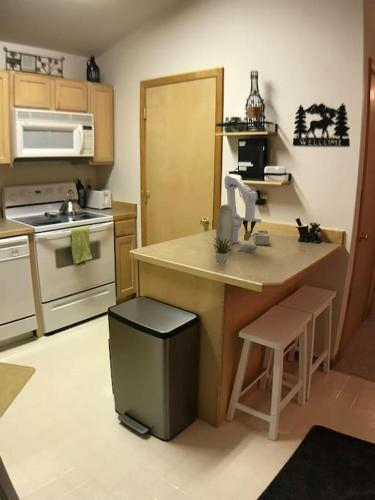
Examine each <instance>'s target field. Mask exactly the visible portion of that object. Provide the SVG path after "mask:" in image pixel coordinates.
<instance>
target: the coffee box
mask: <svg viewBox="0 0 375 500" xmlns="http://www.w3.org/2000/svg"><path fill="white" fill-rule="evenodd" d="M253 232H255V234H254V236H253V241H254V245H257V246H259V245H263V246H264V245H265V246H268V245H270V234H269V232H268V231H267V230H255V229H253Z"/></svg>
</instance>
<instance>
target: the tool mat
mask: <svg viewBox="0 0 375 500" xmlns="http://www.w3.org/2000/svg"><path fill="white" fill-rule="evenodd" d="M257 247H258V245H257V244H248V243H245V244H244V245H242V247H240V248H238V250H237V252H239V253H240V252H241V253H242V252H243V253H249V254H250V253H252V252H254V250H255V249H256V248H257Z"/></svg>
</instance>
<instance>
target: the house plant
mask: <svg viewBox="0 0 375 500" xmlns="http://www.w3.org/2000/svg"><path fill="white" fill-rule="evenodd" d="M210 236H211V237H212V235H210ZM217 238H218V240H219V242H218V241H217V240H216V238H215V237H213V238H212V241H213V242H214V243H213V244H212V246H213V247H214V249H213V250H216V251H215V252H214V253H215V262H216V264H217V263H219V264H218V265H226V264H227V261H228V257H229V250H230V248H231V247H232V245H231V246H230V245H227V243H228V242H229V241H230V240H231V239H232V238H231V239H230V240H229V241H227V242H226V238H225V241H224V243H223V241H220V238H219V236H217ZM233 238H234V237H233ZM222 240H224V239H222ZM216 241H217V243H218V245H219V247H220V248H219V247H218V245H217V243H216ZM225 242H226V243H225ZM228 246H230V248H229V247H228ZM227 247H228V248H227ZM225 263H226V264H225Z"/></svg>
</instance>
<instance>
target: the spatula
mask: <svg viewBox="0 0 375 500" xmlns="http://www.w3.org/2000/svg"><path fill="white" fill-rule="evenodd" d="M250 231H251V230H247V232H246V233H245V232H244V235H243V241H245V242H248V241H249V240H250V239H251V237H254V234H255V232H254V231H252V234H250Z"/></svg>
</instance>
